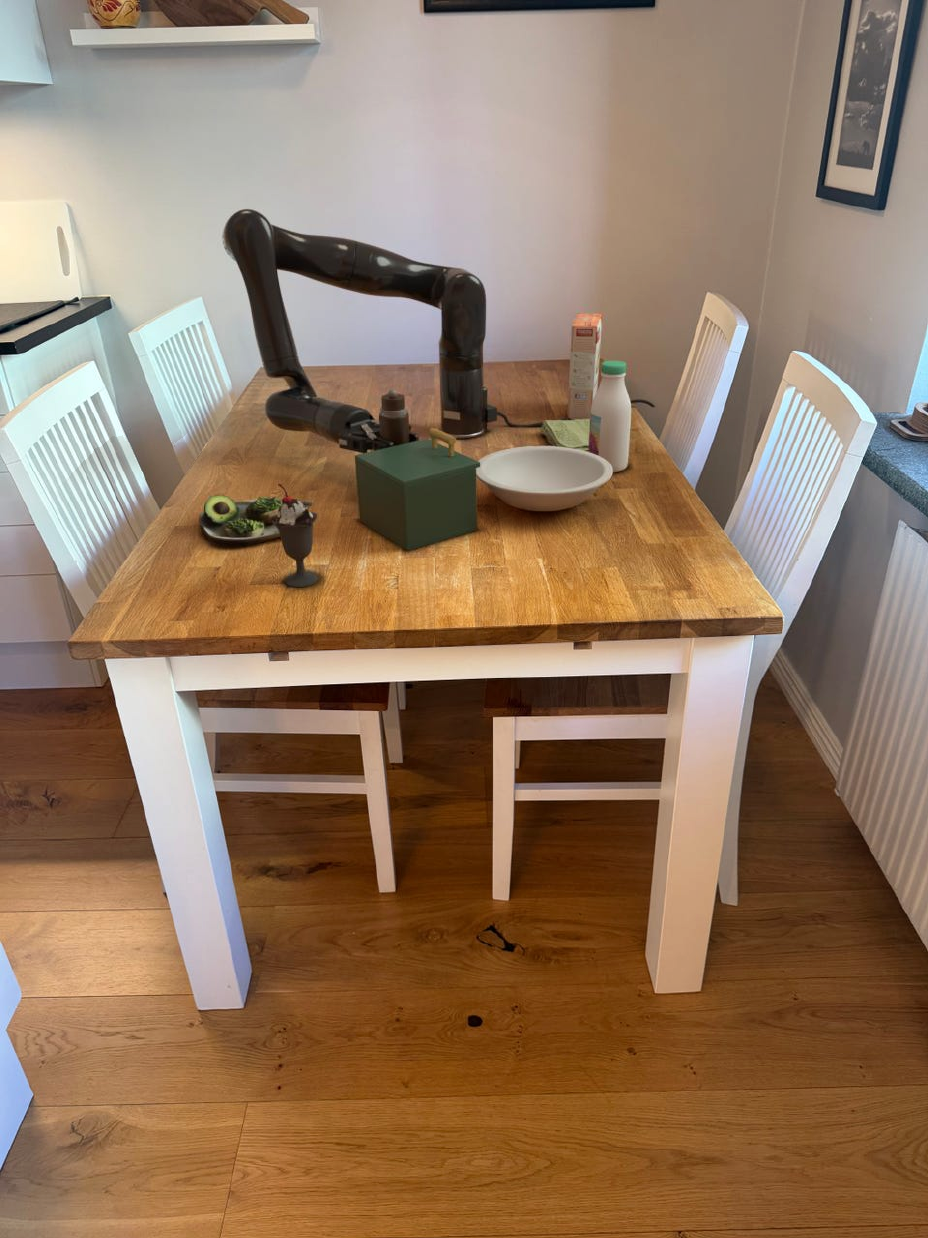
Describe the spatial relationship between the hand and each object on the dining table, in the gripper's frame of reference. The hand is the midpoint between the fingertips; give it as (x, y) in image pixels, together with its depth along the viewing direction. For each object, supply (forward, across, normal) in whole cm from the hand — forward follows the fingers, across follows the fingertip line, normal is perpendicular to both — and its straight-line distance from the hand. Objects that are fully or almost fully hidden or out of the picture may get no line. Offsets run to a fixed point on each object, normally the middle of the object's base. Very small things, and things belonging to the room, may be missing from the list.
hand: (404, 444), depth 161 cm
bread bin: (+10, -7, +10) cm, 16 cm away
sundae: (+13, -32, +10) cm, 36 cm away
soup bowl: (+19, +15, +10) cm, 26 cm away
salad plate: (-11, -26, +11) cm, 30 cm away
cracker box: (-10, +63, +10) cm, 65 cm away
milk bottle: (+16, +38, +10) cm, 42 cm away
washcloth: (+3, +45, +10) cm, 47 cm away
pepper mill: (-3, 0, +9) cm, 9 cm away
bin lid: (+10, -6, -1) cm, 12 cm away
